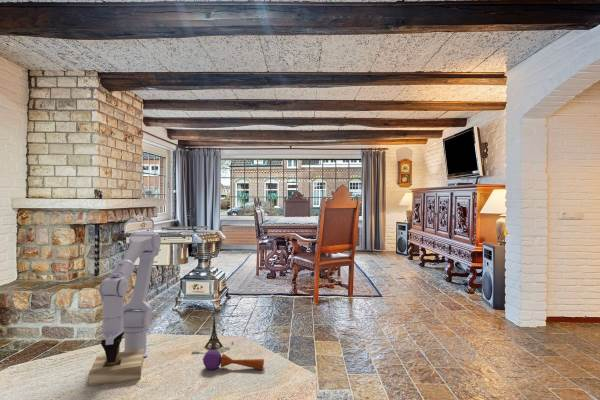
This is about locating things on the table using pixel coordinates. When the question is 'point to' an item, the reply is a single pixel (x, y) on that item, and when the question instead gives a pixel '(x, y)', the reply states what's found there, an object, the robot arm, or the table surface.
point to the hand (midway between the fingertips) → (112, 359)
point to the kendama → (229, 361)
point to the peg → (115, 361)
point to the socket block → (117, 368)
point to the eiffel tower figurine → (214, 342)
